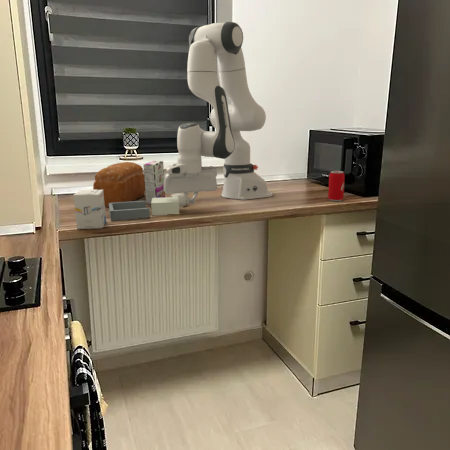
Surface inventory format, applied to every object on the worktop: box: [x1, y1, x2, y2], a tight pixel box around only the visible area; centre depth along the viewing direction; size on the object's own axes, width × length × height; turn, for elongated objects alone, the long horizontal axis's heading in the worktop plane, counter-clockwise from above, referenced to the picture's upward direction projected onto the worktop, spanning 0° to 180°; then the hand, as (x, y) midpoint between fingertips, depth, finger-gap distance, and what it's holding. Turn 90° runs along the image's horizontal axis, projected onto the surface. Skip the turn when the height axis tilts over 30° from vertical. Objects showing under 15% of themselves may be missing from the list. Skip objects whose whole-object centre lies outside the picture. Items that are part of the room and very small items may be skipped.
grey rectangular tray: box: [108, 200, 151, 222], centre depth 166 cm, size 14×14×4 cm
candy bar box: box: [143, 160, 166, 205], centre depth 186 cm, size 11×5×16 cm, turn 168°
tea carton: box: [150, 196, 180, 216], centre depth 170 cm, size 10×9×5 cm
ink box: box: [72, 189, 107, 230], centre depth 151 cm, size 9×8×12 cm
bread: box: [92, 161, 146, 208], centre depth 189 cm, size 14×26×16 cm, turn 169°
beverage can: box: [327, 170, 346, 202], centre depth 186 cm, size 6×6×12 cm
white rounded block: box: [170, 193, 187, 208], centre depth 181 cm, size 6×6×4 cm
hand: (191, 203), depth 172 cm, fingers closed
